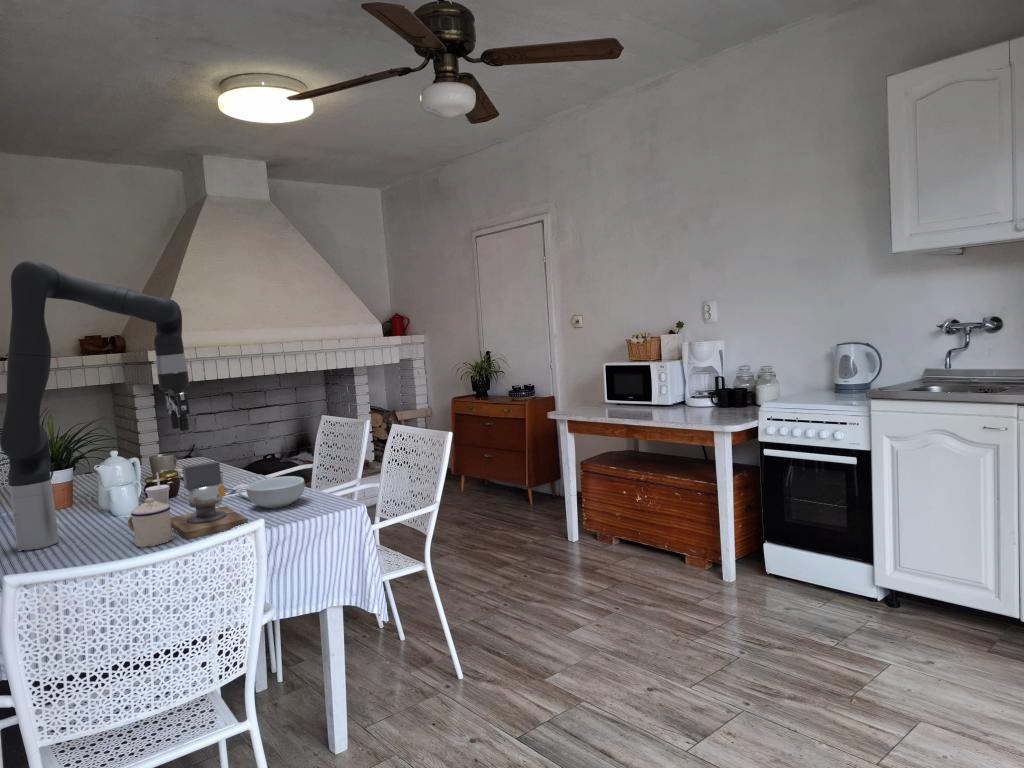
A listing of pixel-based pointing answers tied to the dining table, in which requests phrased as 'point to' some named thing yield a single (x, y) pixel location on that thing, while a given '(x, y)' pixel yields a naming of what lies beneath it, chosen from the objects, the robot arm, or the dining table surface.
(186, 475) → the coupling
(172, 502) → the dining table surface
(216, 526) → the lock base
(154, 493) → the smoothie
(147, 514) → the teacup with lid
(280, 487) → the cereal bowl
